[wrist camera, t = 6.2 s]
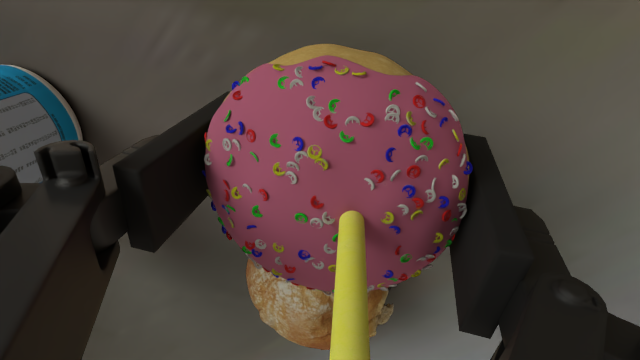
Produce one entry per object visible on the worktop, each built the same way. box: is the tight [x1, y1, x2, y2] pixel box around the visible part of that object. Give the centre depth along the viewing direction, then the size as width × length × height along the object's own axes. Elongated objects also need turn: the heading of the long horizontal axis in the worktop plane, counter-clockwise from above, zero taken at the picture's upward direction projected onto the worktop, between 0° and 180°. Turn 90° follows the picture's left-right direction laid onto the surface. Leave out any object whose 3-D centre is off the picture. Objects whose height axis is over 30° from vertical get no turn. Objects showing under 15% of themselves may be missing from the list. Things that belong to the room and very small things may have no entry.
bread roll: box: [246, 258, 394, 350], centre depth 25 cm, size 10×10×8 cm
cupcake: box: [202, 44, 473, 360], centre depth 11 cm, size 9×8×12 cm
